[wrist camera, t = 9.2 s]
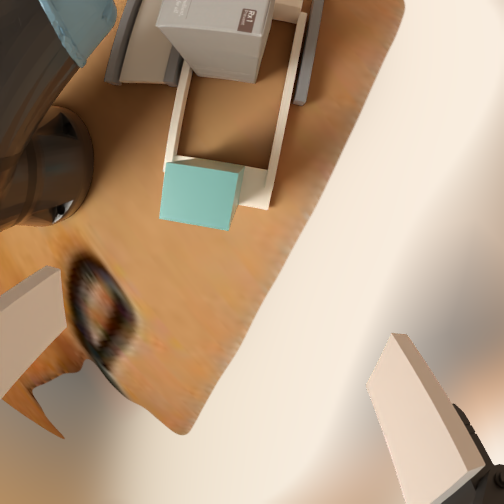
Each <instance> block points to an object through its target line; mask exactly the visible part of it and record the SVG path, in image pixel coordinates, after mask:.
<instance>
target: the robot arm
mask: <svg viewBox="0 0 504 504" xmlns="http://www.w3.org/2000/svg"><path fill="white" fill-rule="evenodd" d="M116 18H117V9H116V6H115V3H114V1H113V0H0V232H1V231H3V230H5V229H8V228H10V227H12V226H14V225H26V226H41V227H43V226H50V225H53V224H56V223H58V222H60V221H62V220H65V219H67V218H68V217H70V216H71V215H72V214H73V213H74V212H75V211H76V210H77V209H78V208H79V207H80V205H81V204H82V202H83V201H84V199H85V197H86V195H87V193H88V190H89V187H90V184H91V180H92V175H93V166H94V155H93V147H92V142H91V138H90V135H89V132H88V130H87V128H86V126H85V124H84V123H83V121H82V120H81V119H80V117H79V116H78V115H77V114H75V113H74V112H73V111H71V110H69V109H67V108H64V107H59V106H51V105H52V104H53V102H54V101H55V99H56V98H57V97H58V95H59V94H60V92H61V91H62V90H63V88H64V87H65V86H66V84H67V83H68V82H69V80H70V79H71V78H72V77H73V75H74V74H75V73H76V71H77V70H78V69H79V68H80V67H81V68H83V67H84V66H85V64H86V62H87V58H88V57H89V56H90V54H91V53H92V52H93V51H94V49H95V48H96V47H97V46H98V44H99V43H100V42H101V41H102V40H103V39H104V37H105V36H106V35H107V34H108V33H109V32H110V30H111V29H112V28H113V26H114V24H115V21H116ZM66 327H67V325H66V318H65V311H64V303H63V295H62V285H61V273H60V269H57V268H54V267H51V266H45V267H43V268H42V269H40V270H39V271H37V272H36V273H34V274H32V275H31V276H29V277H28V278H26V279H25V280H23V281H22V282H20V283H19V284H17V285H16V286H14V287H13V288H11V289H10V290H8V291H7V292H5V293H4V294H2V295H1V296H0V400H1V398H2V397H3V396H4V395H5V394H6V393H7V391H8V390H9V389H10V388H11V387H12V385H13V384H14V383H15V382H16V381H17V380H18V379H19V377H20V376H21V375H22V374H23V373H24V372H25V371H26V370H27V368H28V367H29V366H30V365H31V364H32V363H33V362H34V361H35V360H36V359H37V357H38V356H39V355H40V354H41V353H42V352H43V351H44V350H45V349H46V348H47V347H48V346H49V345H50V344H51V343H52V341H53V340H54V339H55V338H56V337H57V336H58V335H59V334H60V333H61V332H62V331H63V330H64V329H65V328H66ZM366 388H367V390H368V393H369V395H370V398H371V401H372V404H373V406H374V409H375V412H376V415H377V417H378V420H379V423H380V426H381V429H382V432H383V434H384V437H385V440H386V443H387V446H388V449H389V452H390V455H391V458H392V461H393V464H394V467H395V470H396V473H397V477H398V480H399V483H400V487H401V490H402V493H403V496H404V500H405V503H406V504H504V465H500V464H499V465H494V464H493V463H492V461H491V459H490V458H489V456H488V454H487V452H486V450H485V448H484V446H483V445H482V443H481V441H480V439H479V438H478V436H477V434H475V431H474V429H473V427H472V426H470V422H469V420H468V419H467V417H466V415H465V414H464V412H463V411H462V410H461V409H460V408H458V407H457V406H456V405H455V404H452V403H451V402H450V400H449V398H448V397H447V395H446V393H445V392H444V390H443V389H442V387H441V386H440V384H439V382H438V381H437V379H436V377H435V376H434V374H433V373H432V371H431V370H430V368H429V367H428V365H427V363H426V362H425V360H424V359H423V357H422V356H421V355H420V353H419V351H418V350H417V349H416V347H415V346H414V344H413V343H412V341H411V340H410V338H409V337H408V335H406V334H395V333H391V335H390V337H389V339H388V341H387V344H386V346H385V348H384V350H383V352H382V355H381V356H380V359H379V360H378V362H377V364H376V366H375V368H374V370H373V372H372V374H371V376H370V378H369V380H368V382H367V384H366Z"/></svg>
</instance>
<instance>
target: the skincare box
mask: <svg viewBox="0 0 504 504" xmlns="http://www.w3.org/2000/svg"><path fill="white" fill-rule="evenodd" d="M274 4H275V0H163V2H162V5H161V8H160V11H159V14H158V18H157V22H156V25H155V26H156V27H158V28H159V29H160V31H161V32H162V33H163V34H164V35H165V37H166V38H167V39H168V40H169V41H170V42H171V44H172V45H173V46H174V47H175V48H176V50H177V51H178V52H179V53H180V54H181V56H182V57H183V58H184V60H185V61H186V62H187V63H188V65H189V66H190V67H191V68H192V69H193V71H194V72H195V73H196V74H197V76H200V77H209V78H219V79H227V80H234V81H241V82H247V83H253V84H255V83H256V80H257V76H258V72H259V68H260V64H261V60H262V56H263V53H264V49H265V46H266V42H267V38H268V35H269V31H270V27H271V22H272V16H273V10H274Z"/></svg>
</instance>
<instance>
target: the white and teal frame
mask: <svg viewBox="0 0 504 504" xmlns="http://www.w3.org/2000/svg"><path fill="white" fill-rule="evenodd" d="M302 4H303V0H275V4H274V10H273V16H272V19H274V20H280V21H285V22H290V23H295V24H296V29H295V34H294V39H293V45H292V50H291V55H290V60H289V65H288V70H287V75H286V80H285V85H284V90H283V95H282V100H281V105H280V110H279V115H278V120H277V125H276V130H275V135H274V140H273V145H272V150H271V155H270V160H269V166H268V170H266V169H261V168H255V167H250V166H244V165H239V164H233V163H227V162H221V161H215V160H208V159H201V158H194V157H187V156H180V155H177V150H178V144H179V138H180V133H181V127H182V121H183V116H184V111H185V106H186V101H187V96H188V91H189V86H190V82H191V77H192V73H193V69H192V68H191V67H190V66H189V65H188V63H187V62H186V61H185V60H184V62H183V66H182V70H181V74H180V79H179V83H178V88H177V93H176V98H175V103H174V108H173V113H172V118H171V124H170V129H169V135H168V141H167V147H166V154H165V160H164V167H163V172H165V174H164V182H163V189H162V199H161V207H160V217H159V219H164V220H170V221H176V222H181V223H187V224H193V225H198V226H204V227H210V228H215V229H221V230H226V231H228V230H229V228H230V225H231V222H232V220H233V217H234V214H235V211H236V209H237V206H238V205H243V206H249V207H254V208H259V209H264V210H268V208H269V203H270V198H271V193H272V190H273V186H274V181H275V176H276V171H277V166H278V161H279V156H280V151H281V146H282V141H283V136H284V131H285V126H286V121H287V116H288V111H289V106H290V101H291V96H292V90H293V85H294V80H295V75H296V70H297V65H298V60H299V54H300V49H301V44H302V39H303V33H304V28H305V23H306V18H307V13H305V12H301V9H302Z"/></svg>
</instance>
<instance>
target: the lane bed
mask: <svg viewBox="0 0 504 504" xmlns="http://www.w3.org/2000/svg"><path fill="white" fill-rule="evenodd" d="M141 3H142V0H128V1H127V3H126V6H125V9H124V12H123V15H122V18H121V21H120V24H119V27H118V30H117V33H116V36H115V40H114V43H113V47H112V50H111V54H110V58H109V62H108V66H107V70H106V74H105V78H104V82H107V83H110V84H112V85H121V84H122V82H120V81H119V79H120V75H121V71H122V67H123V63H124V59H125V55H126V51H127V47H128V44H129V40H130V37H131V33H132V30H133V27H134V24H135V21H136V18H137V15H138V12H139V9H140V6H141ZM323 4H324V0H312V4H311V10H310V15H309V21H308V26H307V31H306V37H305V42H304V47H303V52H302V58H301V63H300V68H299V73H298V78H297V84H296V89H295V94H294V99H293V104H295V105H300V106H303V105H304V104H305V103H306V99H307V93H308V88H309V83H310V77H311V72H312V67H313V61H314V56H315V50H316V45H317V39H318V33H319V28H320V22H321V16H322V10H323ZM183 62H184V58H183V57H182V56H181V54H180V53H179V52H178V51H177V50H176V48H175V47H174V46H173V45H172V48H171V52H170V56H169V60H168V64H167V68H166V72H165V77H164V81H163V82H164V83H166V84H167V85H169V86H170V87H178V83H179V79H180V74H181V70H182V66H183Z"/></svg>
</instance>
